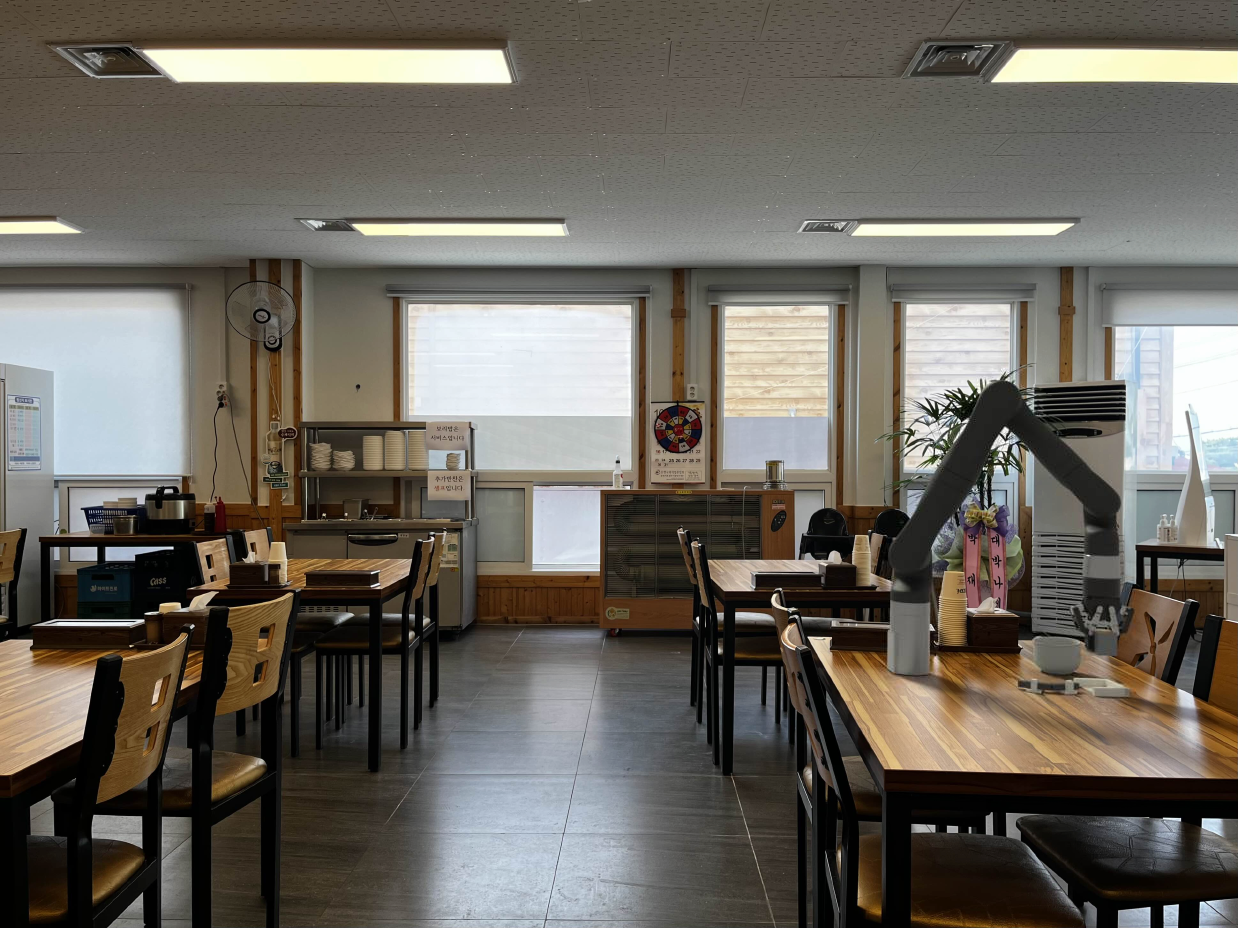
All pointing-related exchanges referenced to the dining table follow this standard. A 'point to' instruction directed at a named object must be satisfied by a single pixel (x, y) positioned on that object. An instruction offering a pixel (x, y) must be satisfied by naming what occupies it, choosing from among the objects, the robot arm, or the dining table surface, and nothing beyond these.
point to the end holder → (1103, 687)
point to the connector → (1105, 643)
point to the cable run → (1046, 685)
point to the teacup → (1057, 654)
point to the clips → (1068, 690)
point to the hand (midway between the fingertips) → (1101, 651)
